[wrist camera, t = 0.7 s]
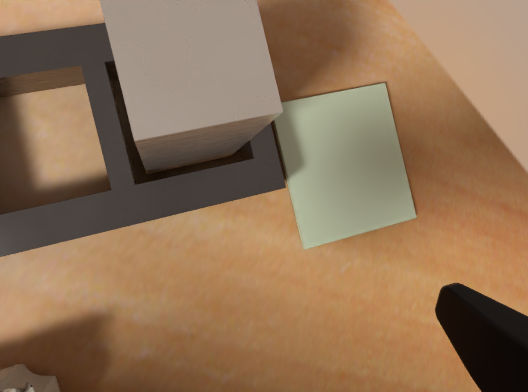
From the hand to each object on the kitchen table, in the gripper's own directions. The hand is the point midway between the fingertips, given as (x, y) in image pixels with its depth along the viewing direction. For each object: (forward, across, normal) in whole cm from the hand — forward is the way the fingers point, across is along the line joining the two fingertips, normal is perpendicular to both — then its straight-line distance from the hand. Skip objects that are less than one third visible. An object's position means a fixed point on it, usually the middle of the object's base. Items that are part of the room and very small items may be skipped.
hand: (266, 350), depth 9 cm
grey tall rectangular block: (+15, 0, +1) cm, 15 cm away
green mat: (+13, -9, +4) cm, 16 cm away
